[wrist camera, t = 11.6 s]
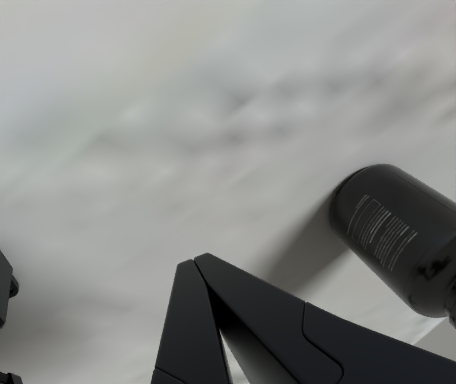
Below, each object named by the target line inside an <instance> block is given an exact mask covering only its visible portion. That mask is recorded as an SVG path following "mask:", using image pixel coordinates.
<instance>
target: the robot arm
mask: <svg viewBox="0 0 456 384" xmlns="http://www.w3.org/2000/svg"><path fill="white" fill-rule="evenodd" d="M12 270H13V268H12V266H11V265H10V263H9V262H8V261H7V259H6V258H5V256H4V255H3V254H2V252H1V251H0V329H1V328H3V326H4V324H5V322H6V315H7V307H8V300H9V298H11V297H14V296H15V295H17V293H18V291H19V284H18V282H17V281H16V279H15V278H14V276H13V275H12ZM10 288H12V289H10ZM220 332H221V334H222V336H223V338H224V340H225V342H226V343H227V345H228V347H229V348H230V350H231V352H232V354H233V355H234V357H235V359H236V360H237V362H238V364H239V366H240V367H241V369H242V371H243V372H244V374H245V376H246V377H247V379H248V381H249V383H250V384H456V362H455V361H452V360H450V359H447V358H445V357H442V356H439V355H437V354H434V353H431V352H429V351H426V350H423V349H421V348H418V347H415V346H413V345H410V344H407V343H405V342H402V341H399V340H397V339H394V338H391V337H389V336H386V335H383V334H381V333H378V332H375V331H373V330H370V329H367V328H365V327H362V326H360V325H357V324H355V323H352V322H350V321H347V320H345V319H342V318H340V317H338V316H336V315H333V314H331V313H329V312H327V311H325V310H323V309H321V308H319V307H317V306H315V305H313V304H311V303H309V302H306V303H305V301H303V300H301V299H299V298H297V297H295V296H294V295H292V294H290V293H288V292H286V291H284V290H282V289H280V288H278V287H276V286H274V285H272V284H270V283H268V282H266V281H264V280H262V279H260V278H258V277H256V276H254V275H252V274H250V273H248V272H246V271H244V270H242V269H240V268H238V267H236V266H234V265H232V264H230V263H228V262H226V261H224V260H222V259H220V258H218V257H216V256H214V255H212V254H210V253H205V254H202V255H200V256H197V257H195V258H194V260H192V259H189V260H187V261H184V262H182V263H179V264H178V265H177V269H176V273H175V278H174V282H173V287H172V291H171V296H170V300H169V305H168V309H167V314H166V318H165V323H164V327H163V332H162V337H161V341H160V346H159V350H158V355H157V359H156V364H155V369H154V371H153V375H152V380H151V384H233V380H232V376H231V372H230V368H229V364H228V360H227V356H226V353H225V349H224V345H223V341H222V337H221V334H220ZM0 384H23V383H22V380H21V377H20V376H17V375H15V374H12V373H8V374H5V373H2V372H0Z"/></svg>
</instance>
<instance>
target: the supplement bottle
mask: <svg viewBox="0 0 456 384" xmlns="http://www.w3.org/2000/svg"><path fill="white" fill-rule="evenodd" d="M330 220H331V226H332V229H333V231H334V232H335V234H336V235H337V236H338V237H339V238H340V239H341V240H342V241H343V242H344V243H345V244H346V245H347V246H348V247H349V248H350V249H351V250H352V251H353V252H354V253H355V254H356V255H357V256H358V257H359V258H360V259H361V260H362V261H363V262H364V263H365V264H366V265H367V266H368V267H369V268H370V269H371V270H372V271H373V272H374V273H375V274H376V275H377V276H378V277H379V278H380V279H381V280H382V281H383V282H384V283H385V284H386V285H387V286H388V287H389V288H390V289H391V290H392V291H393V292H394V293H395V294H396V295H397V296H398V297H400V298H401V299H402V300H403V301H404V302H405V303H406V304H407V305H408V306H409V307H410V308H411V309H412V310H413V311H415V312H416V313H418V314H421V315H423V316H426V317H431V318H442V317H448V316H449V322H450V324H451V325H452V326H453V327H454V328H455V329H456V203H455V202H454V201H452V200H450V199H449V198H447V197H445V196H444V195H442V194H441V193H439V192H437V191H436V190H434V189H433V188H431V187H429V186H428V185H426V184H424V183H423V182H421V181H420V180H418V179H416V178H415V177H413V176H411V175H410V174H408V173H406V172H405V171H403V170H401V169H400V168H398V167H396V166H393V165H389V164H378V165H373V166H370V167H367V168H365V169H363V170H361V171H359V172H358V173H356V174H355V175H354V176H352V177H351V178H350V179H349V180H348V181H347V182H346V183H345V184H344V185H343V187H342V188H341V189H340V191H339V192H338V194H337V196H336V197H335V200H334V202H333V205H332V208H331V215H330Z"/></svg>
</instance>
